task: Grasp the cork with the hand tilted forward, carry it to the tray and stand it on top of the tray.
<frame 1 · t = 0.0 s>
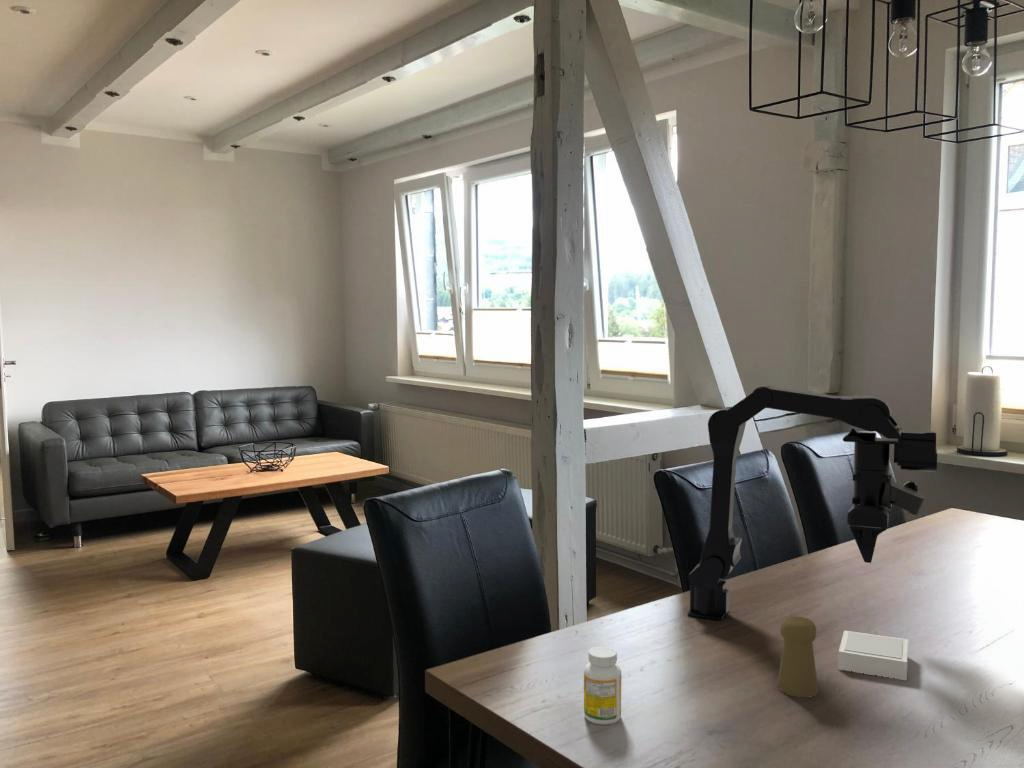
hand: (869, 555, 150), 15 cm above the table, tool pointing down, fingers open, 9 cm apart
supplement bottle: (602, 718, 122), on the table
cork: (797, 690, 130), on the table
tray: (873, 663, 139), on the table
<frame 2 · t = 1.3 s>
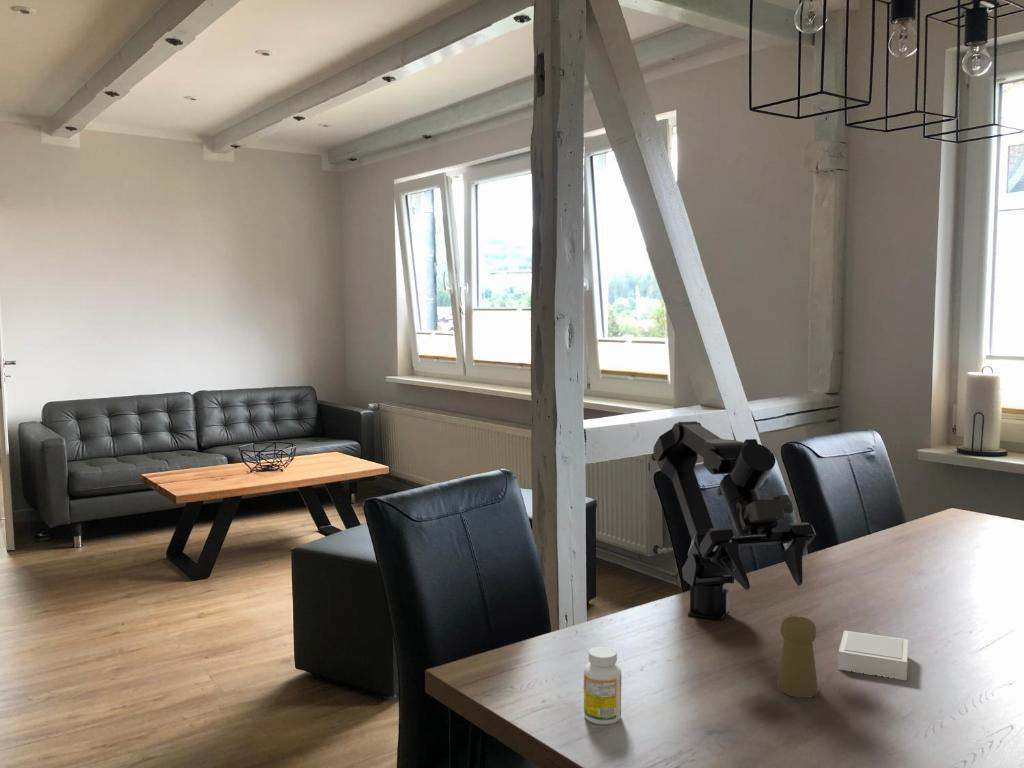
hand: (774, 586, 137), 13 cm above the table, tool tilted 45°, fingers open, 9 cm apart
nothing on the table moved.
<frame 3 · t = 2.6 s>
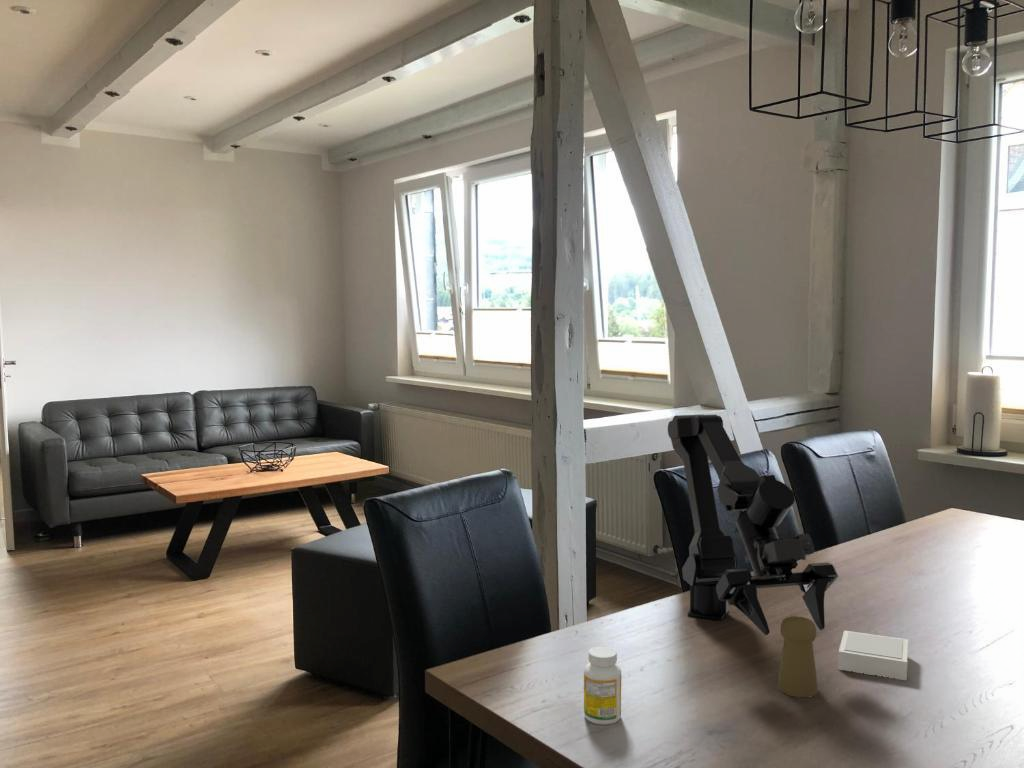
hand: (795, 631, 131), 9 cm above the table, tool tilted 45°, fingers open, 9 cm apart
nothing on the table moved.
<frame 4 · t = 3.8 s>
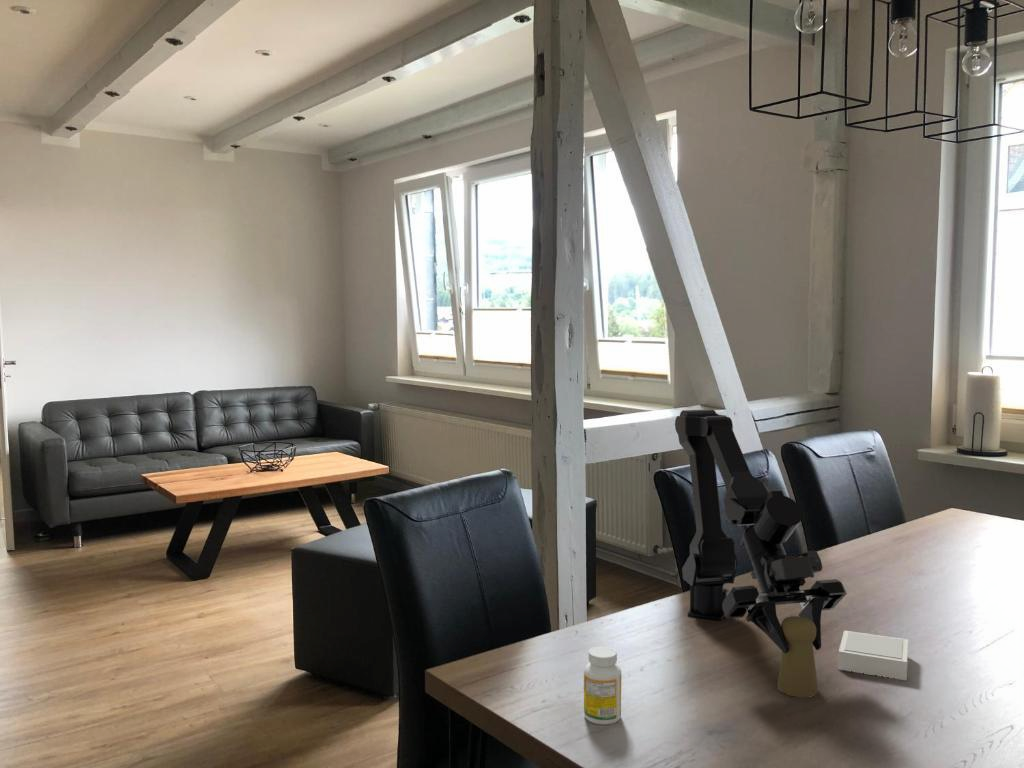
hand: (802, 650, 128), 7 cm above the table, tool tilted 45°, fingers closed on cork, 5 cm apart
cork: (797, 689, 130), on the table, touching gripper
everything else where it was.
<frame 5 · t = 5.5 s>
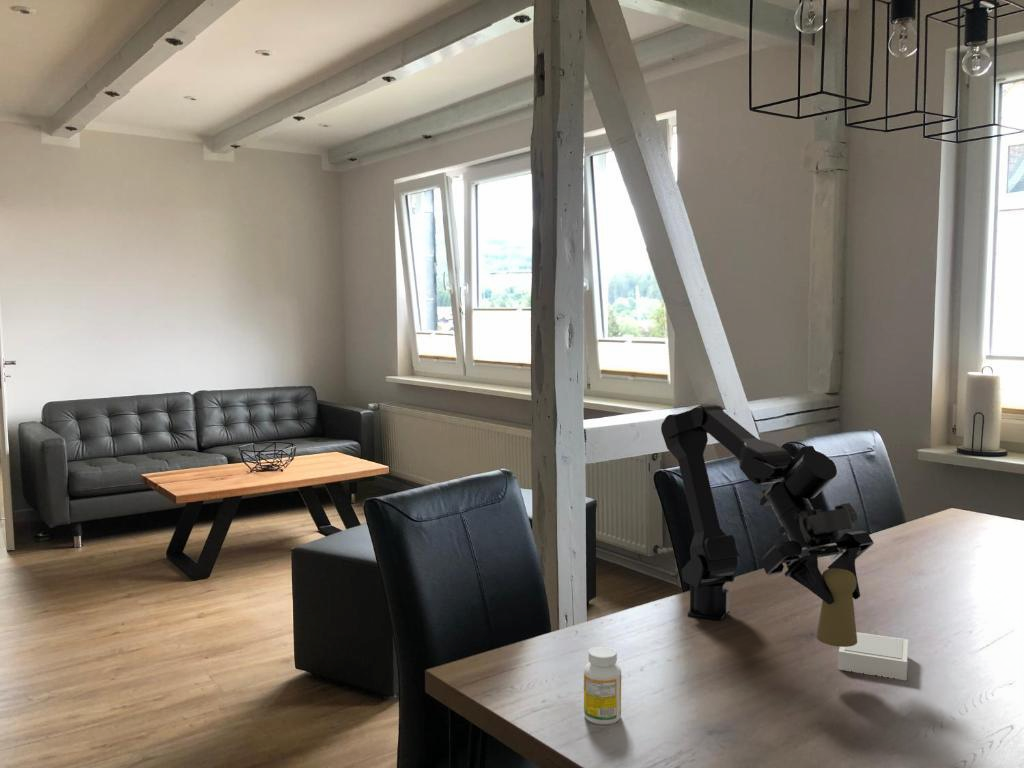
hand: (844, 600, 131), 13 cm above the table, tool tilted 45°, fingers closed on cork, 5 cm apart
cork: (836, 640, 133), point 6 cm above the table, touching gripper
everything else where it was.
when the fingers open (10 cm above the table, at t = 7.2 s): cork stays where it is, resting on tray.
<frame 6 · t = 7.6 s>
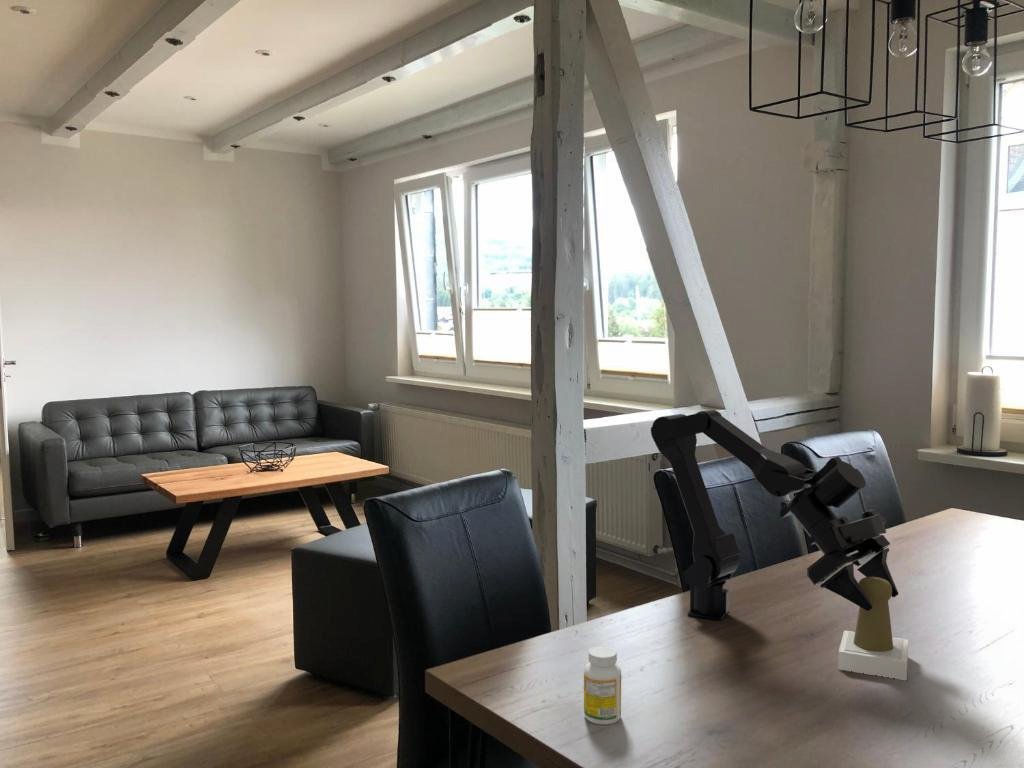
hand: (883, 602, 138), 11 cm above the table, tool tilted 45°, fingers open, 9 cm apart
cork: (873, 645, 139), point 3 cm above the table, touching tray
everything else where it was.
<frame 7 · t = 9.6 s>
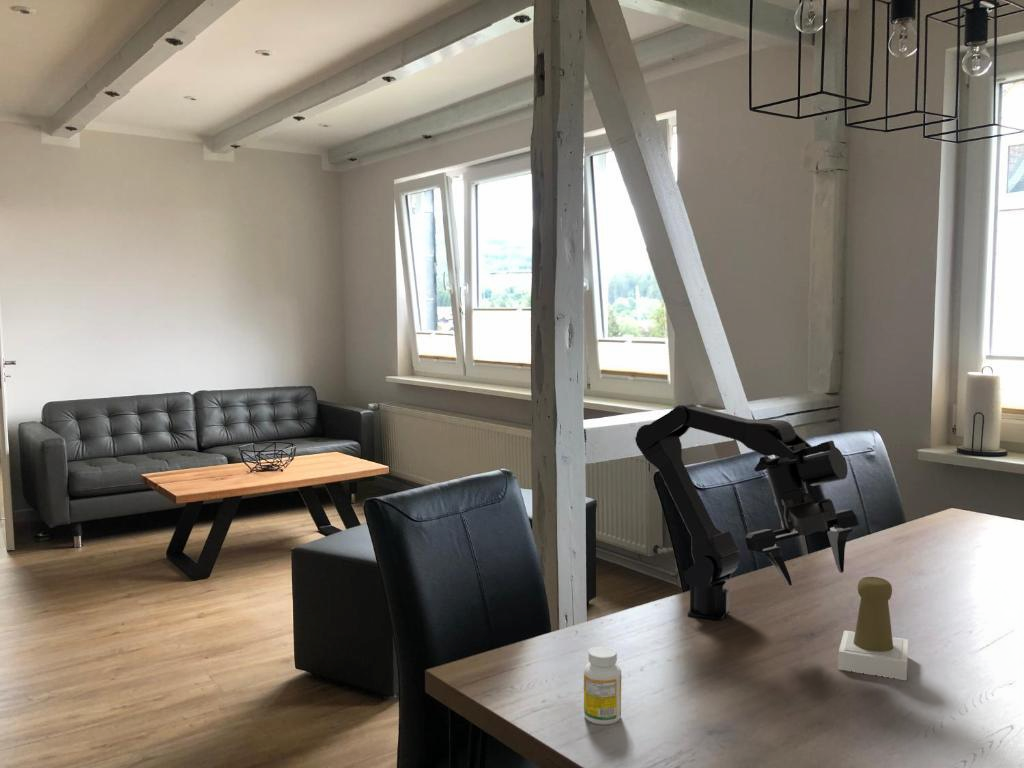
hand: (815, 578, 147), 11 cm above the table, tool tilted 20°, fingers open, 9 cm apart
nothing on the table moved.
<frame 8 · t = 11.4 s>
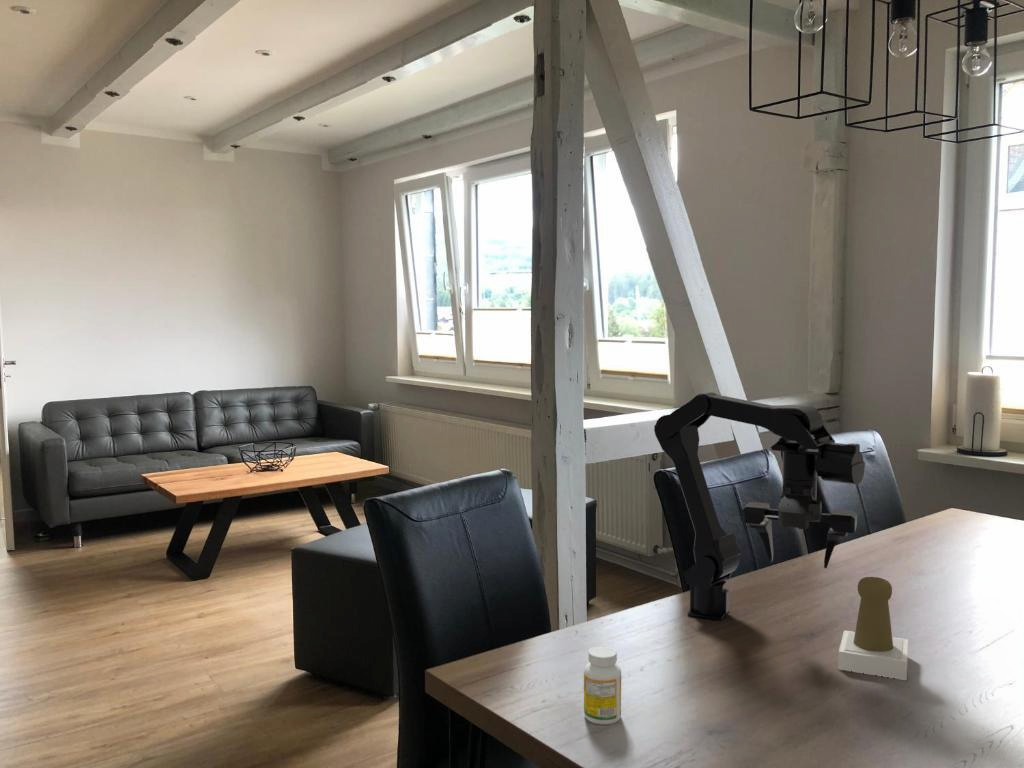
hand: (798, 564, 150), 13 cm above the table, tool pointing down, fingers open, 9 cm apart
nothing on the table moved.
at the end: cork inside the target area on the tray (0.1 cm from its centre), point 3.0 cm above the tray's base; cork tilted 0°; the gripper is holding nothing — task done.
